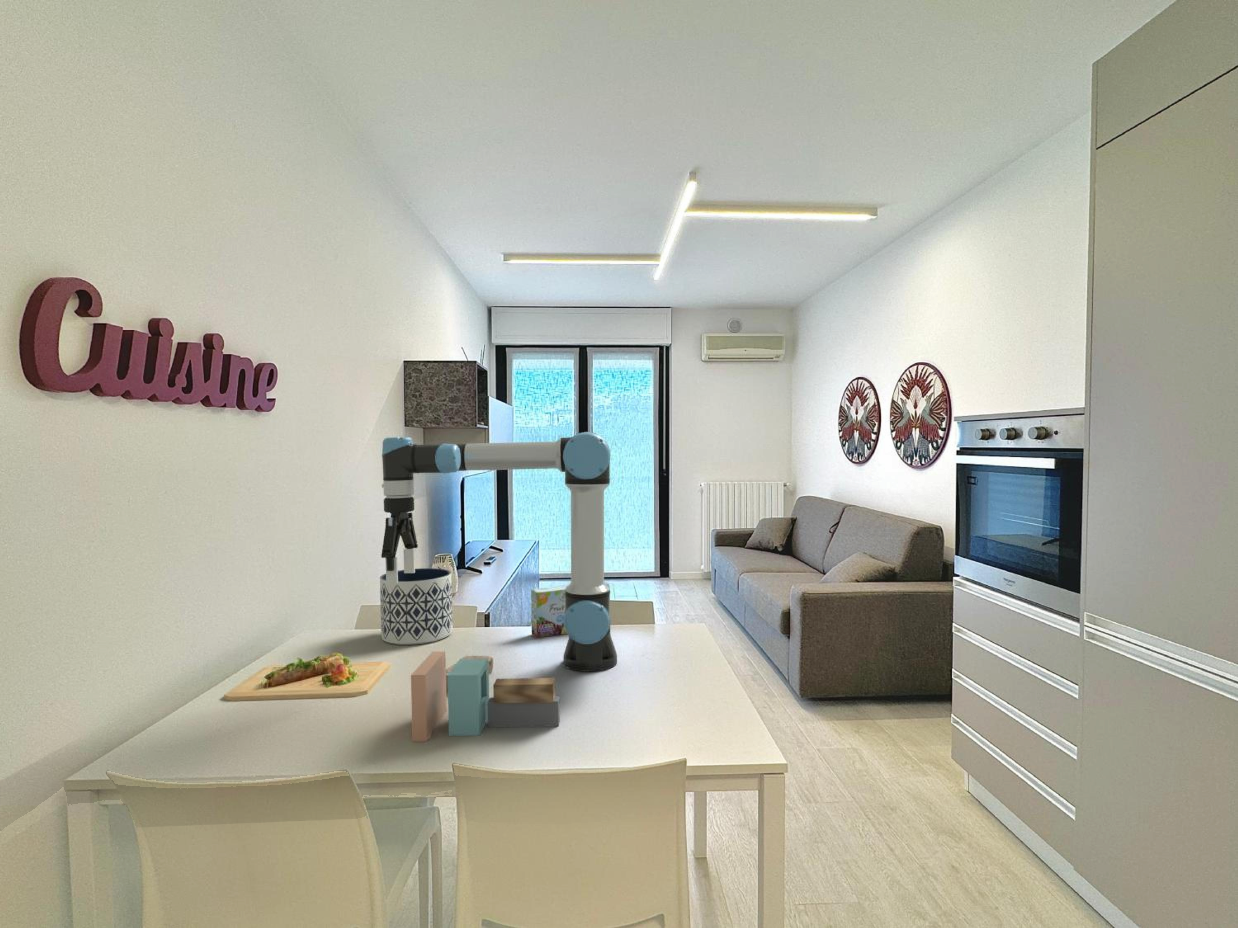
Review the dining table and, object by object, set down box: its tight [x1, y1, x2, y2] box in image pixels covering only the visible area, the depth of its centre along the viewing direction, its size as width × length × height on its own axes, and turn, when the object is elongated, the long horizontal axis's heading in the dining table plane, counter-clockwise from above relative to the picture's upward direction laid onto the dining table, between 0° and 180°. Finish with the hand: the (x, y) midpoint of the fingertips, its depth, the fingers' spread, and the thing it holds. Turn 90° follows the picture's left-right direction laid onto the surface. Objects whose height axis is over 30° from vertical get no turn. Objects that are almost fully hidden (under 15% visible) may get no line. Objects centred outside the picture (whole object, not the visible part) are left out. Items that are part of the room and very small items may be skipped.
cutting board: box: [223, 652, 392, 702], centre depth 178 cm, size 35×23×8 cm
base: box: [410, 650, 448, 742], centre depth 148 cm, size 3×16×14 cm, turn 0°
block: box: [447, 658, 490, 737], centre depth 148 cm, size 6×11×13 cm, turn 0°
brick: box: [446, 655, 494, 693], centre depth 177 cm, size 17×8×5 cm, turn 165°
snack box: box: [530, 584, 569, 639], centre depth 221 cm, size 21×6×15 cm, turn 117°
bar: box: [492, 677, 556, 703], centre depth 148 cm, size 13×4×4 cm, turn 90°
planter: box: [379, 567, 454, 646], centre depth 219 cm, size 22×22×20 cm
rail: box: [487, 695, 561, 728], centre depth 148 cm, size 16×3×6 cm, turn 90°
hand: (401, 577), depth 175 cm, fingers open, 13 cm apart
